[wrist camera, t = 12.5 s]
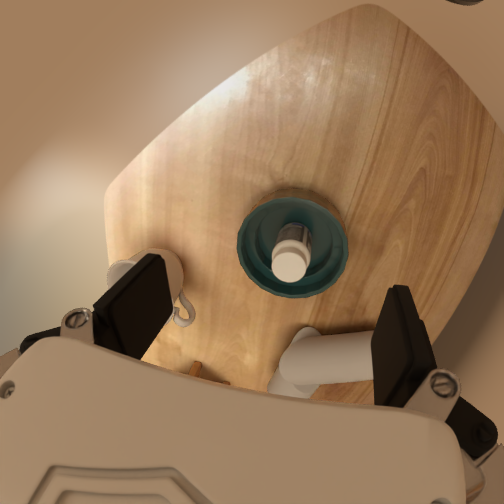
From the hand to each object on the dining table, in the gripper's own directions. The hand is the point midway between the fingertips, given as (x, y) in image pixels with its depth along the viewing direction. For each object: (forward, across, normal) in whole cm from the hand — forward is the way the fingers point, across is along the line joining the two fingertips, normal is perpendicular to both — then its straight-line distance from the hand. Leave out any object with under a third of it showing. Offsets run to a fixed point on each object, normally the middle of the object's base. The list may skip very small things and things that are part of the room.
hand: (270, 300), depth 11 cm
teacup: (+28, +21, +18) cm, 39 cm away
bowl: (+28, +1, +10) cm, 29 cm away
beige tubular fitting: (+28, -7, +32) cm, 43 cm away
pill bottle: (+27, +1, +10) cm, 29 cm away
